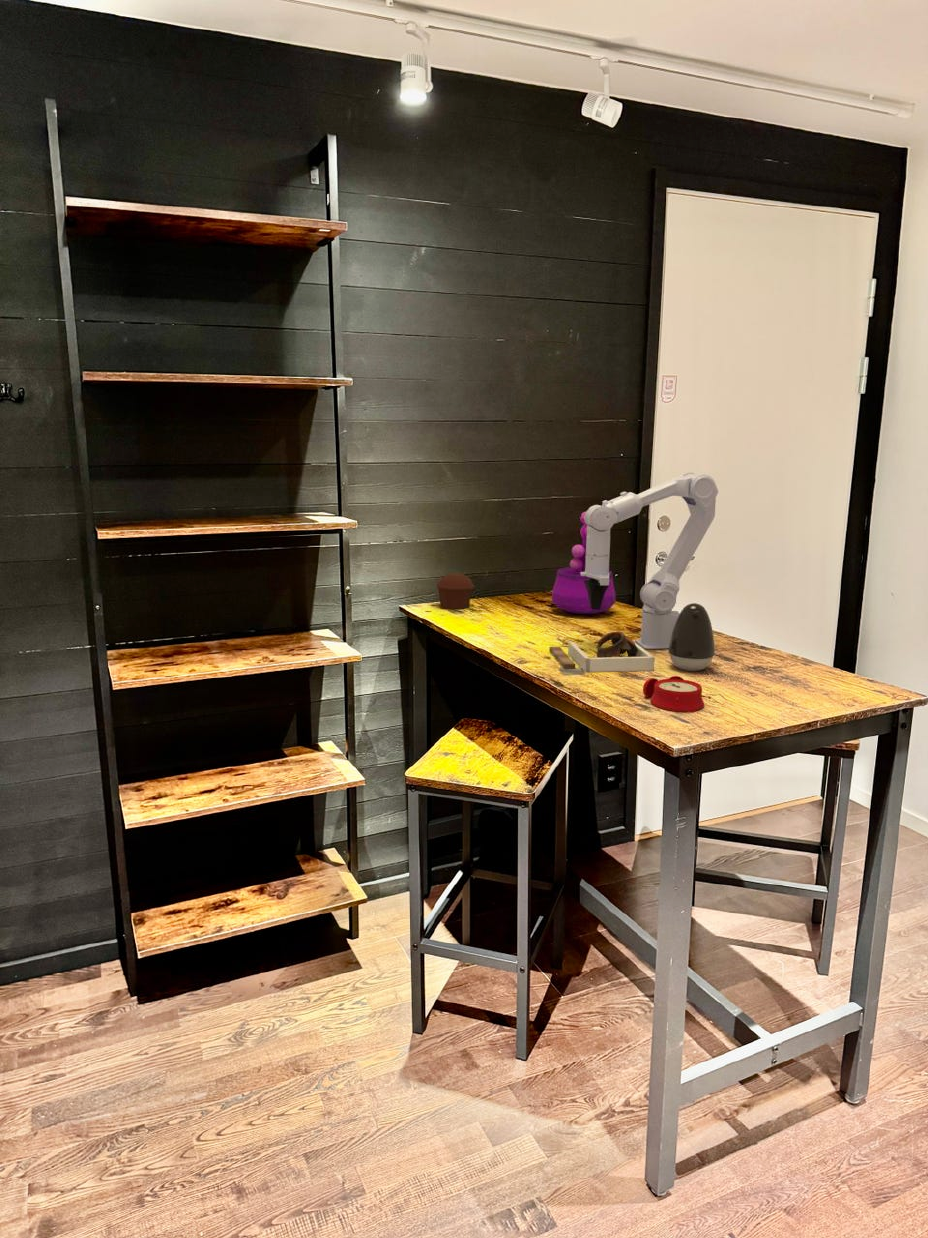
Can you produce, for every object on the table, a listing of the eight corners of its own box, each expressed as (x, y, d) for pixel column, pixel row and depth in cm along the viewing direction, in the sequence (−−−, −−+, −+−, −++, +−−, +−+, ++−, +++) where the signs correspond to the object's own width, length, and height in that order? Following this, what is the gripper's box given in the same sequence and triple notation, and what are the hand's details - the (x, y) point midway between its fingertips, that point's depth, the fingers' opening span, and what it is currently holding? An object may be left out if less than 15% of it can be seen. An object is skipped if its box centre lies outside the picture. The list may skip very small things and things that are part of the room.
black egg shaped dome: (669, 673, 191) (674, 607, 188) (665, 661, 201) (669, 598, 198) (716, 675, 190) (721, 609, 186) (709, 663, 200) (714, 599, 197)
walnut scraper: (544, 652, 209) (544, 646, 208) (564, 652, 209) (564, 646, 209) (563, 676, 189) (563, 669, 189) (585, 675, 190) (585, 668, 190)
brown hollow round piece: (644, 670, 196) (629, 641, 193) (606, 684, 199) (591, 656, 196) (641, 644, 206) (627, 617, 203) (605, 658, 209) (591, 631, 206)
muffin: (428, 607, 259) (428, 574, 256) (450, 601, 267) (451, 570, 265) (459, 612, 252) (459, 579, 249) (481, 606, 260) (482, 574, 258)
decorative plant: (549, 605, 263) (553, 507, 256) (610, 606, 262) (614, 508, 256) (553, 618, 245) (557, 514, 238) (618, 620, 244) (624, 515, 237)
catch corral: (631, 652, 209) (632, 640, 208) (653, 670, 193) (654, 657, 193) (568, 653, 207) (568, 641, 206) (585, 672, 191) (585, 659, 191)
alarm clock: (671, 699, 162) (635, 662, 175) (666, 727, 165) (630, 688, 177) (719, 694, 165) (679, 658, 178) (712, 722, 168) (674, 684, 181)
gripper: (574, 550, 215) (572, 603, 218) (589, 559, 201) (587, 615, 204) (601, 550, 216) (599, 602, 219) (618, 559, 202) (615, 615, 205)
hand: (595, 609), depth 212 cm, fingers closed
